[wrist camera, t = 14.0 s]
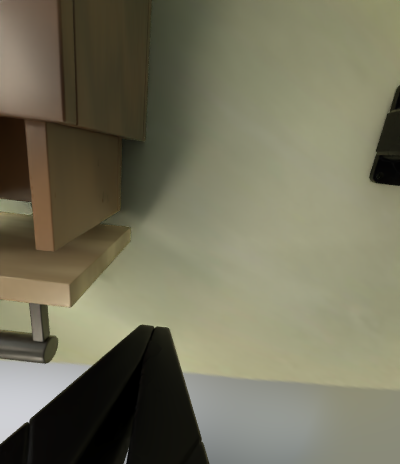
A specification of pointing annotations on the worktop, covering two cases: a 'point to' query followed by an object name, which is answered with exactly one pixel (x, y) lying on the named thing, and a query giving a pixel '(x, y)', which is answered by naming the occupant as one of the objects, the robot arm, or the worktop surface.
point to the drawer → (55, 222)
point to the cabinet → (77, 63)
